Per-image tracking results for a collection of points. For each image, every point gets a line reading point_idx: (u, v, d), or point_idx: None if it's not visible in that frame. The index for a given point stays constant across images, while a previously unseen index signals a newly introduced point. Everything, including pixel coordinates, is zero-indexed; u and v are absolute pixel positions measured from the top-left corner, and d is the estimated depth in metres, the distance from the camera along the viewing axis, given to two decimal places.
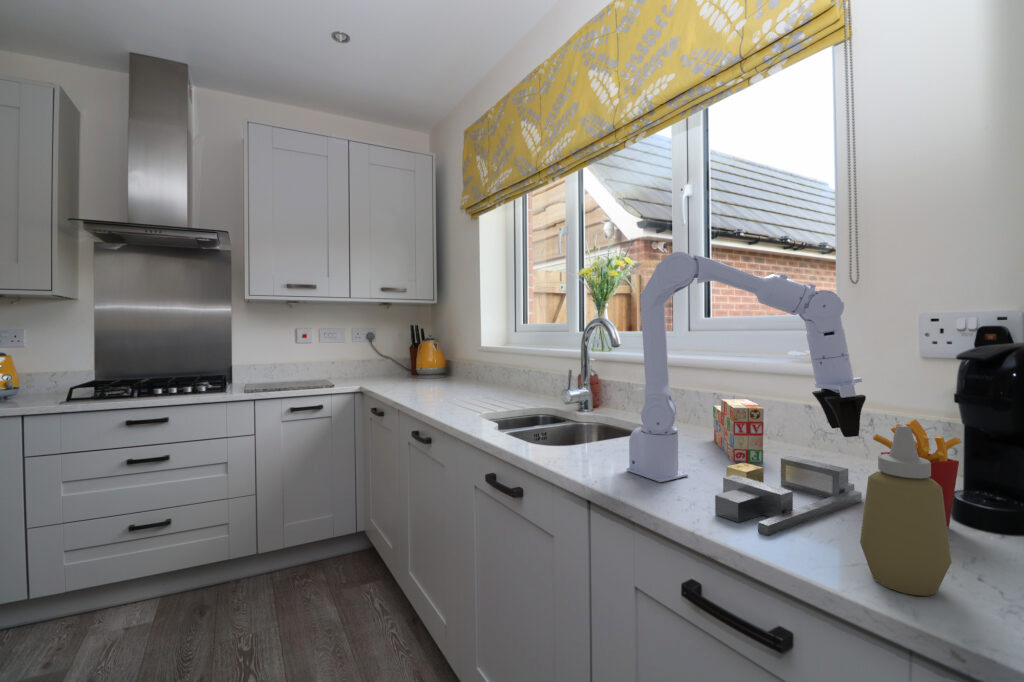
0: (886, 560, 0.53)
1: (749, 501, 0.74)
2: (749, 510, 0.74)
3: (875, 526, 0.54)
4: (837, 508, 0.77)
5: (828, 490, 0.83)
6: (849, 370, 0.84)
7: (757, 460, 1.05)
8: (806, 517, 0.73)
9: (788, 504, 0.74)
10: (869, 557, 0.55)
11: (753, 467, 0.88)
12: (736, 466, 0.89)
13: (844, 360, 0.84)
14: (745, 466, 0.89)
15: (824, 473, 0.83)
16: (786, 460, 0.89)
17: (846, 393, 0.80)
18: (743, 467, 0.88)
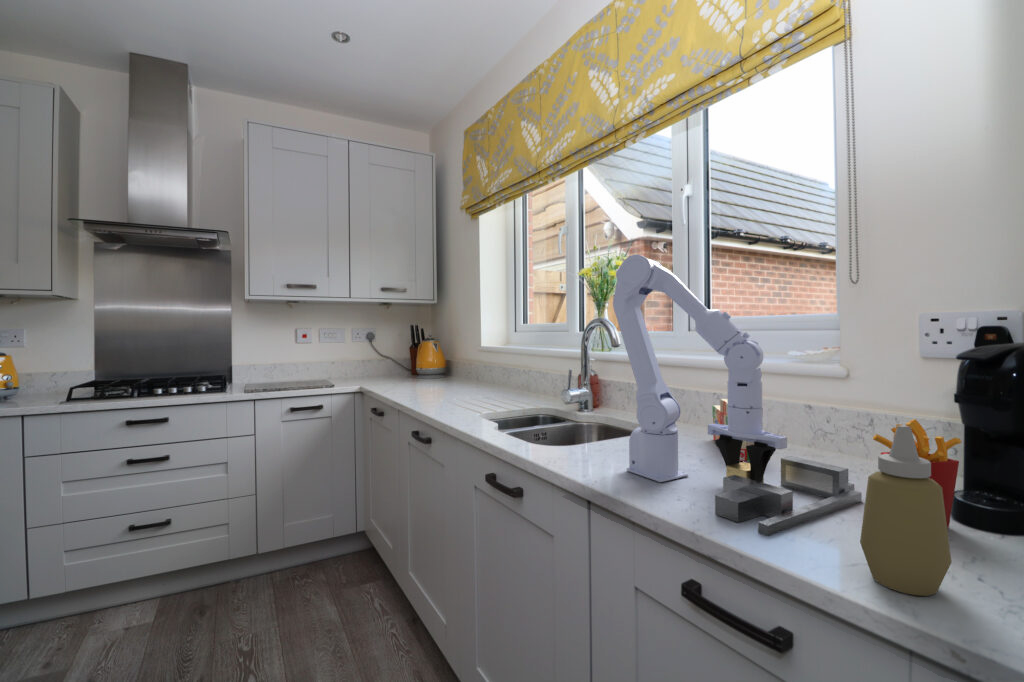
0: (886, 560, 0.53)
1: (749, 501, 0.74)
2: (749, 510, 0.74)
3: (876, 526, 0.54)
4: (837, 508, 0.77)
5: (828, 490, 0.83)
6: None
7: None
8: (806, 517, 0.73)
9: (788, 504, 0.74)
10: (869, 557, 0.55)
11: None
12: (736, 465, 0.89)
13: None
14: (745, 465, 0.89)
15: (824, 473, 0.83)
16: (786, 460, 0.89)
17: (782, 445, 0.82)
18: (743, 466, 0.88)
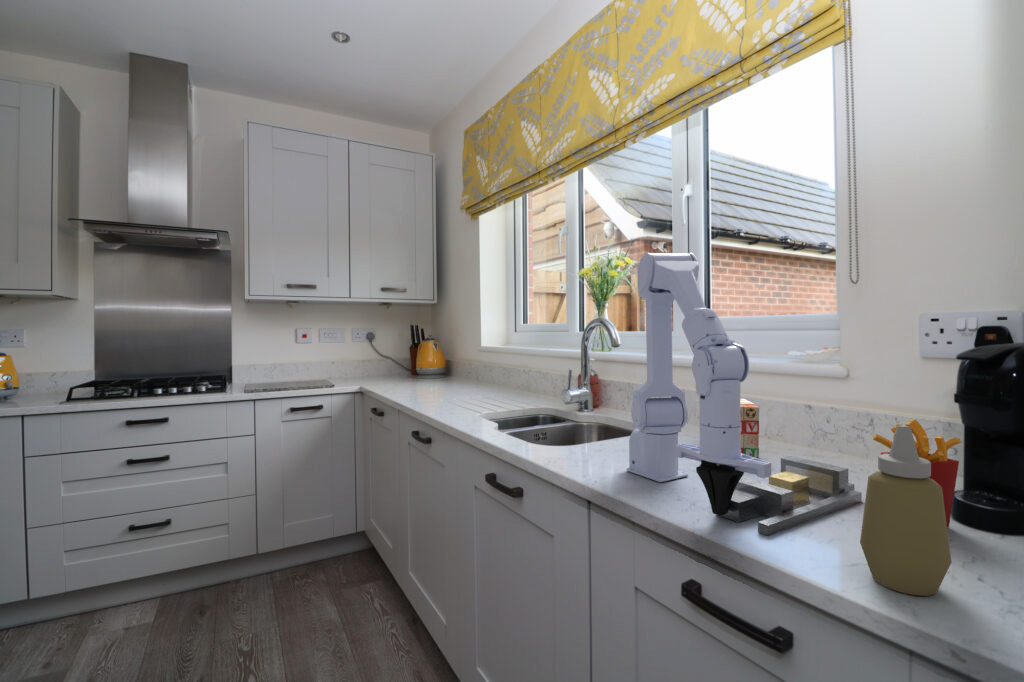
0: (886, 560, 0.53)
1: (749, 500, 0.74)
2: (749, 510, 0.74)
3: (876, 526, 0.54)
4: (837, 508, 0.77)
5: (828, 490, 0.83)
6: None
7: None
8: (806, 517, 0.73)
9: (788, 504, 0.74)
10: (869, 557, 0.55)
11: (798, 477, 0.82)
12: (779, 475, 0.83)
13: (740, 430, 0.72)
14: (789, 475, 0.83)
15: (824, 473, 0.83)
16: (786, 460, 0.89)
17: (766, 473, 0.67)
18: (787, 477, 0.82)
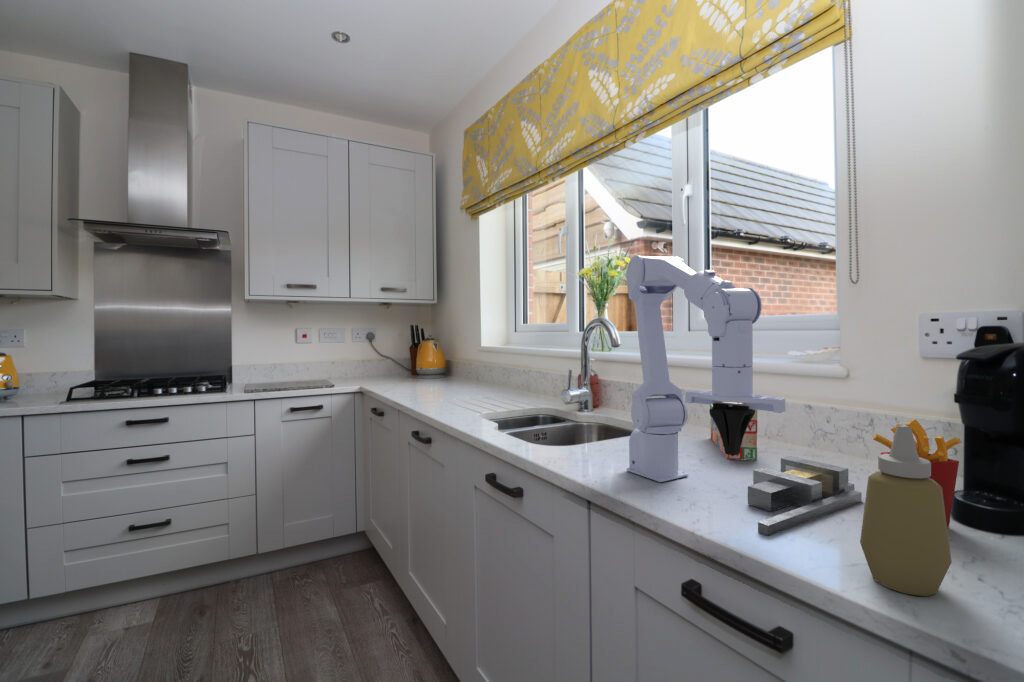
0: (886, 560, 0.53)
1: (780, 491, 0.78)
2: (780, 500, 0.78)
3: (876, 526, 0.54)
4: (837, 508, 0.77)
5: (828, 490, 0.83)
6: None
7: (751, 458, 1.07)
8: (806, 517, 0.73)
9: (818, 494, 0.78)
10: (869, 557, 0.55)
11: (809, 474, 0.84)
12: (790, 472, 0.85)
13: None
14: (800, 472, 0.84)
15: (824, 473, 0.83)
16: (786, 460, 0.89)
17: (782, 408, 0.69)
18: (798, 474, 0.84)
